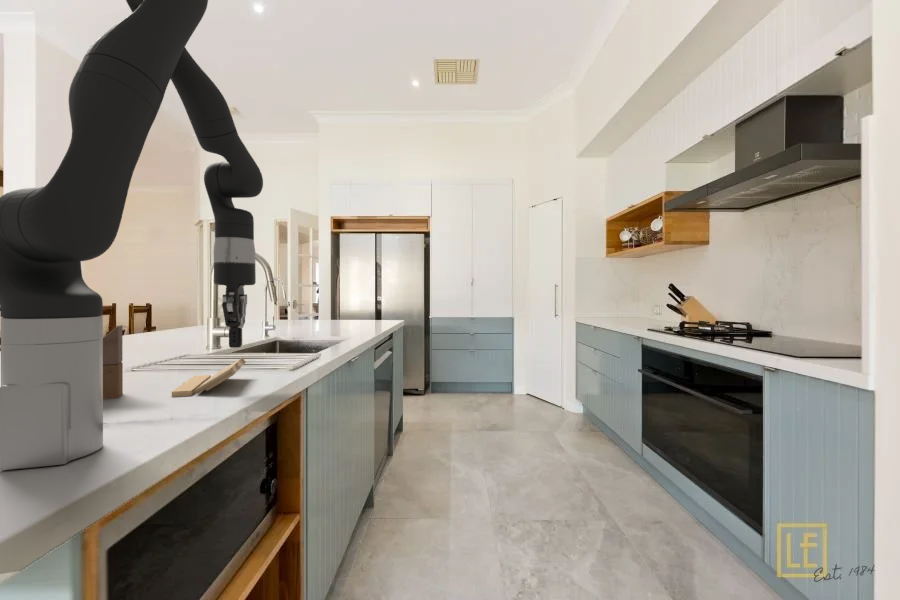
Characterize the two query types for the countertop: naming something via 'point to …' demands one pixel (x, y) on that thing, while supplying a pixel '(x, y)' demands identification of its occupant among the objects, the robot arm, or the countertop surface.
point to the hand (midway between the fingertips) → (235, 346)
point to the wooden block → (112, 364)
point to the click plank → (221, 376)
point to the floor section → (190, 386)
